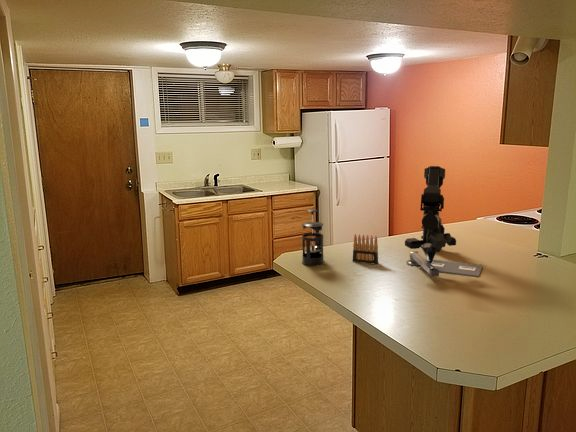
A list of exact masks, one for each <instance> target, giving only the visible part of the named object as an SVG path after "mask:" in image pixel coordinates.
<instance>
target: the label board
mask: <svg viewBox="0 0 576 432" xmlns="http://www.w3.org/2000/svg"><path fill="white" fill-rule="evenodd" d="M431 265H433V266H434V267H435V268H436V269H438V270H439V273H442V274H443V273H446V274H453V275H460V276H467V277H468V276H469V277H475V278H476V277H477V278H479V277H480V275H481V272H482V270H483V269H482V268H483V264H476V263H468V262H467V263H466V262H458V261H451V260H450V261H448V260H441V259H433V261H432V263H431ZM419 270H420V271H426V270H425V269H424V268H423V267H422V266H420V267H419Z"/></svg>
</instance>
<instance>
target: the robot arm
mask: <svg viewBox="0 0 576 432" xmlns="http://www.w3.org/2000/svg"><path fill="white" fill-rule="evenodd" d="M423 172H424V173H423V178H424V179H425V184H426V187H425V188H424V189H423V194H422V193H421V195H420V197H421V198H420V211H422V213H423V215H422V219H421V224H422V225H421V229H422V235H421V236H420V238H421V239H417V238H415V237H411V238H410V237H409V238H406V239H405V240H404V246H406V247H407V248H409V249H411V250H415V249H416V250H417V249H420V248H421V249H422V252H423V253H424V255H425V259H426V260H427V261H428V262H429V263H430V264H431V263H432V261H433V260H434V257H435V256H436V254H437V253H438V252H439V251H441V249H443V248H446V244H447V245H448V246H449V247H450V246H451V247H452V246H456V245H457V238H455V236H452V235H451V233H450V232H449V233H448V232H447V233H445V227H444V224H443V223H442V218H441V217H440V212H442V211H443V210H444V206H445V197H444V195H443V194H442V190H441V187H442V186H443V185H444V180H445V179H446V168H445V167H444V168H443V167H441V166H439V165H430V166H428V167H426V168H424V171H423Z"/></svg>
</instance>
